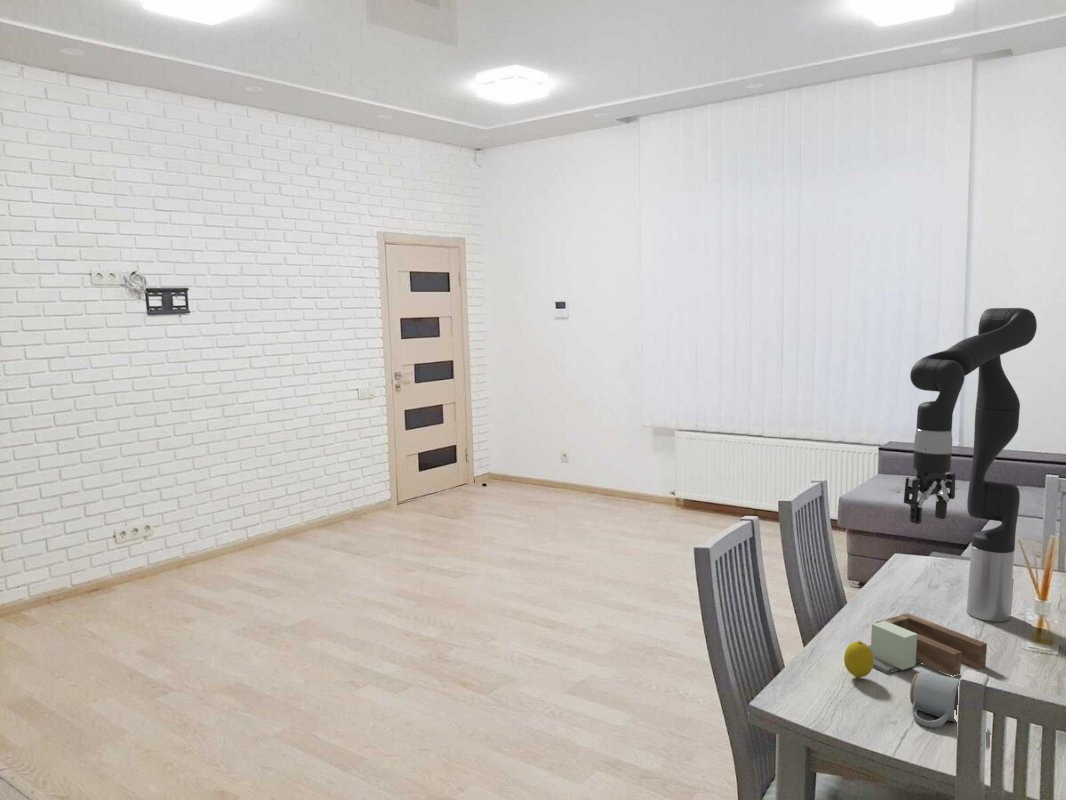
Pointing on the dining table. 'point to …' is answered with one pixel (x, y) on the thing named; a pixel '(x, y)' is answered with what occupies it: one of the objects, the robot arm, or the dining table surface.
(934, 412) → the robot arm
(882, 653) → the sage block
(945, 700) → the ceramic mug
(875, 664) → the slate coaster
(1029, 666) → the dining table surface
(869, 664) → the lemon
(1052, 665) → the dining table surface
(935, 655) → the rail
